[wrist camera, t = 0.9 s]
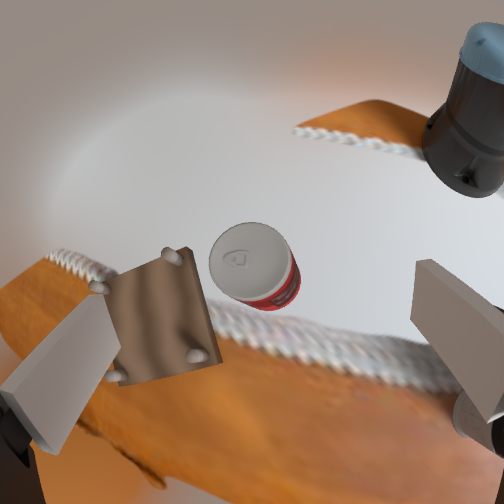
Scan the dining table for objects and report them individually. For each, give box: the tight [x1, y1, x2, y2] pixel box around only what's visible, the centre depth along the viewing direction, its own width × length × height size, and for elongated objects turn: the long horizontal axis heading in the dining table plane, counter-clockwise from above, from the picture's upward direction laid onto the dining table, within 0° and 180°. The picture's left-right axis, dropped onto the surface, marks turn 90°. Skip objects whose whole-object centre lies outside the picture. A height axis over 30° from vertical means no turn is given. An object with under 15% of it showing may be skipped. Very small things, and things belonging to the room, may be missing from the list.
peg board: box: [89, 247, 223, 387], centre depth 38 cm, size 16×16×6 cm
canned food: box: [209, 222, 301, 311], centre depth 33 cm, size 8×8×11 cm
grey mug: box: [452, 389, 504, 458], centre depth 21 cm, size 9×14×15 cm, turn 18°
